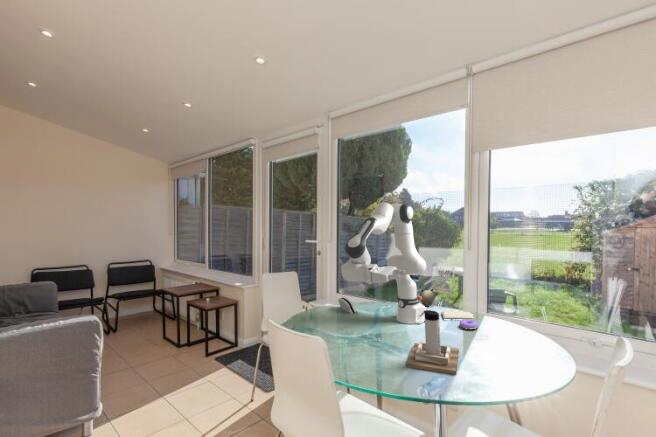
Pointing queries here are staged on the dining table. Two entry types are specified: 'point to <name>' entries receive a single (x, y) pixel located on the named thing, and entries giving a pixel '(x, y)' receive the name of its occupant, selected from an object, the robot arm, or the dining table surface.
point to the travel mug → (432, 333)
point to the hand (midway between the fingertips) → (402, 274)
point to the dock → (433, 359)
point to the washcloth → (457, 315)
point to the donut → (468, 324)
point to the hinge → (347, 305)
